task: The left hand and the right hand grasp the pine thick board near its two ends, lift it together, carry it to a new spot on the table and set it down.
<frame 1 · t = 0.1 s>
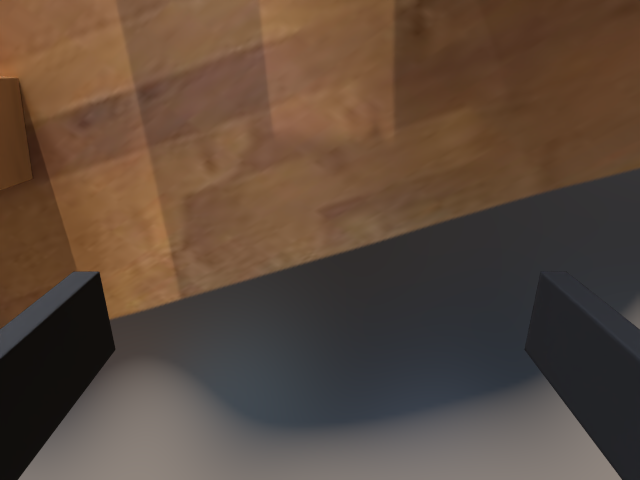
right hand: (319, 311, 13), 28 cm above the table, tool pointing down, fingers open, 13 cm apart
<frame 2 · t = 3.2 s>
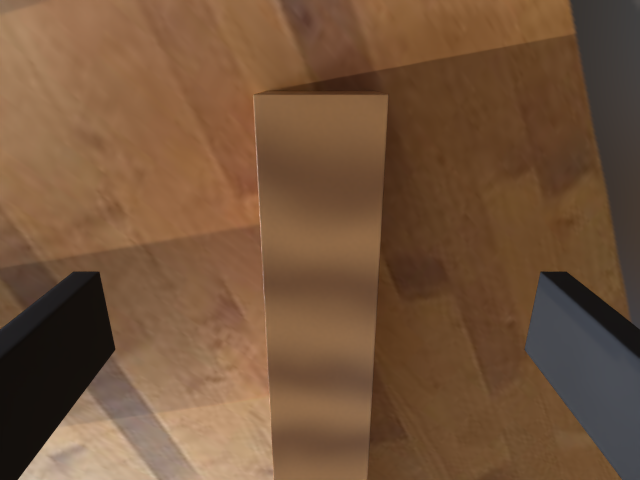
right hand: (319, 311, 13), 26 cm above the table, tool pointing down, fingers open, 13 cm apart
thick board: (320, 454, 49), on the table, touching left hand
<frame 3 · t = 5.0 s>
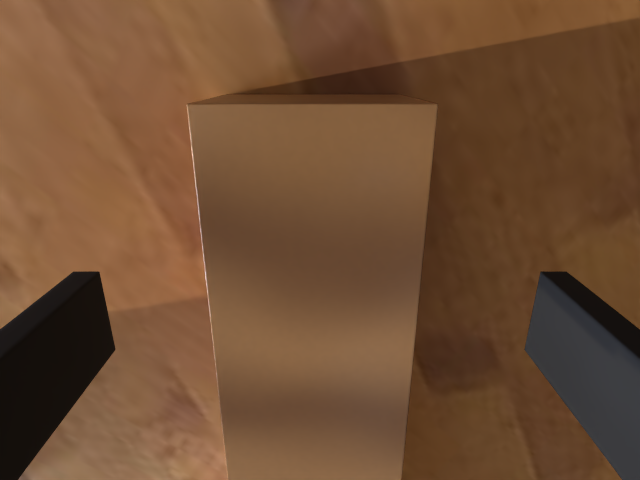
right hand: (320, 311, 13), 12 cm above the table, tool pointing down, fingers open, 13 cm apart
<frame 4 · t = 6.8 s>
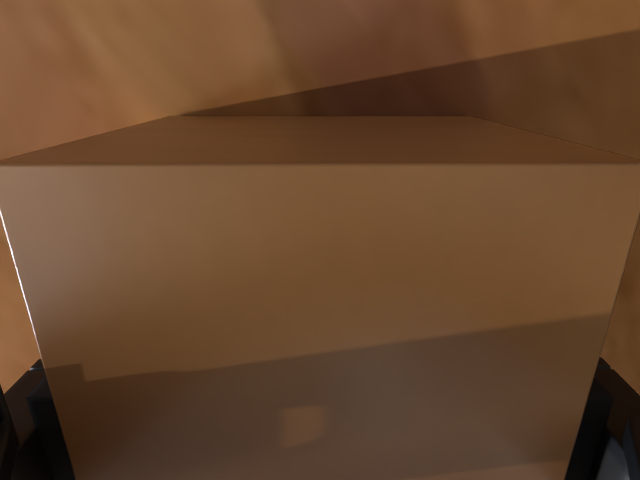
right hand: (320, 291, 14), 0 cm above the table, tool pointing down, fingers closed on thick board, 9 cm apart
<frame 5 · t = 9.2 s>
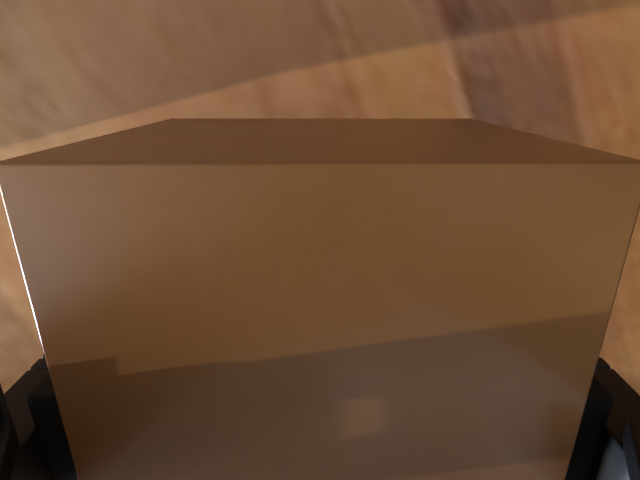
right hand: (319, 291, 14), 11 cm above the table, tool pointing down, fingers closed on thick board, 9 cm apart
when the left hand's fingers open (2 cm above the table, at t = 11.6 s): thick board drops 1 cm, on the table.
when the right hand's fingers open (2 cm above the table, at t = 11.6 s): thick board drops 1 cm, on the table.
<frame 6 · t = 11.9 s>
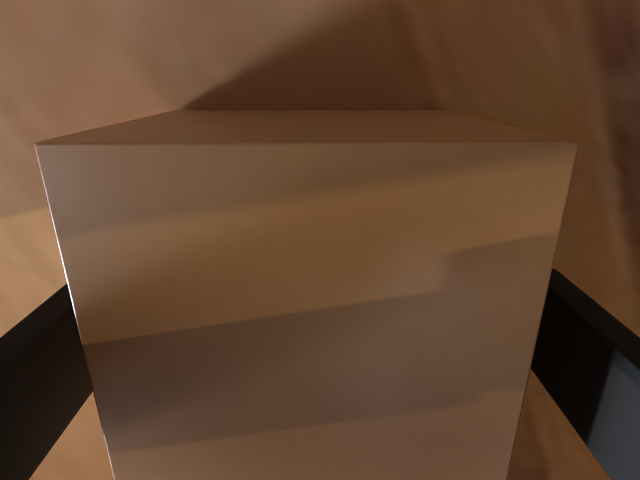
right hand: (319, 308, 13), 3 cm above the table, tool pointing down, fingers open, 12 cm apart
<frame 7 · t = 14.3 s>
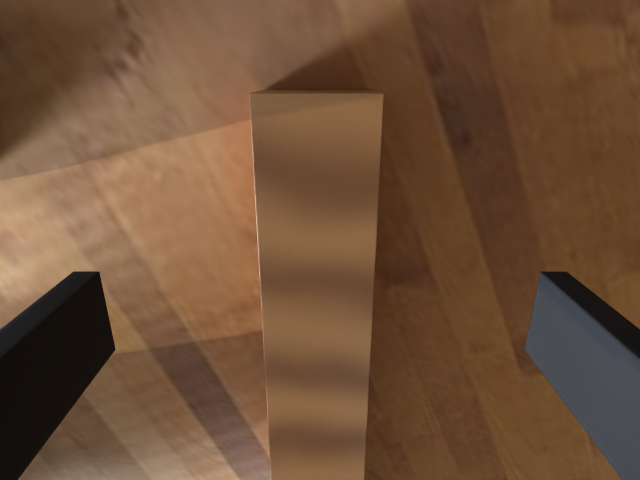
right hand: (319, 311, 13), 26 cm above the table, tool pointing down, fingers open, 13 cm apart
thick board: (318, 452, 49), on the table
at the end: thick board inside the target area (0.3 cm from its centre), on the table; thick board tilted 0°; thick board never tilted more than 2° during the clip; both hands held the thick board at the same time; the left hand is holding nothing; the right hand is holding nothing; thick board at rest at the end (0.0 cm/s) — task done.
